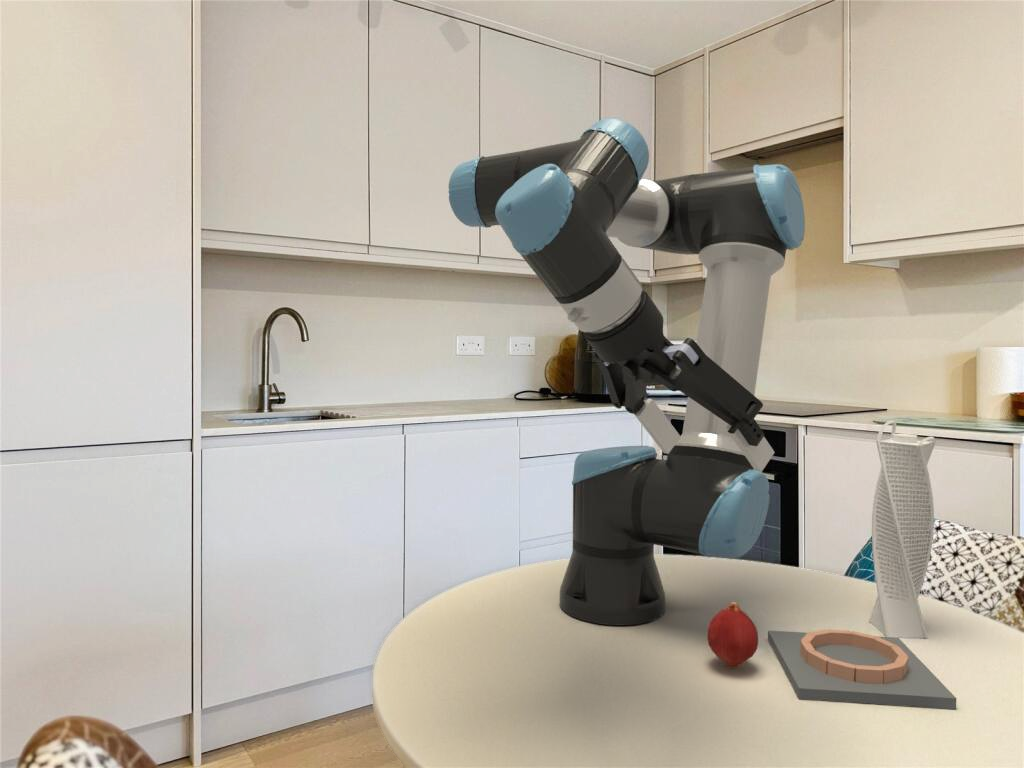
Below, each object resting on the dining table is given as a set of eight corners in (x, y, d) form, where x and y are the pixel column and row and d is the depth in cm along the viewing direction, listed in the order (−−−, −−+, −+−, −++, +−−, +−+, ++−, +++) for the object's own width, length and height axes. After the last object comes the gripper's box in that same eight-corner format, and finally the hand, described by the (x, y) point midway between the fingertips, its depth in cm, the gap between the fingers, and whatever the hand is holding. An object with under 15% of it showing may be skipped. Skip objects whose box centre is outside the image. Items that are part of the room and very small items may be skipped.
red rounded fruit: (699, 657, 92) (701, 593, 91) (745, 656, 92) (747, 592, 92) (716, 679, 86) (718, 611, 85) (765, 677, 86) (767, 609, 86)
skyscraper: (856, 617, 105) (863, 418, 103) (910, 618, 105) (919, 419, 103) (881, 640, 97) (891, 426, 95) (940, 642, 97) (950, 426, 95)
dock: (798, 698, 81) (799, 674, 81) (767, 639, 97) (768, 619, 97) (955, 709, 79) (957, 684, 79) (898, 646, 95) (898, 626, 95)
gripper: (522, 337, 84) (623, 461, 92) (681, 337, 62) (793, 499, 71) (562, 291, 86) (657, 417, 95) (728, 277, 65) (831, 441, 73)
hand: (715, 453), depth 83 cm, fingers open, 13 cm apart
